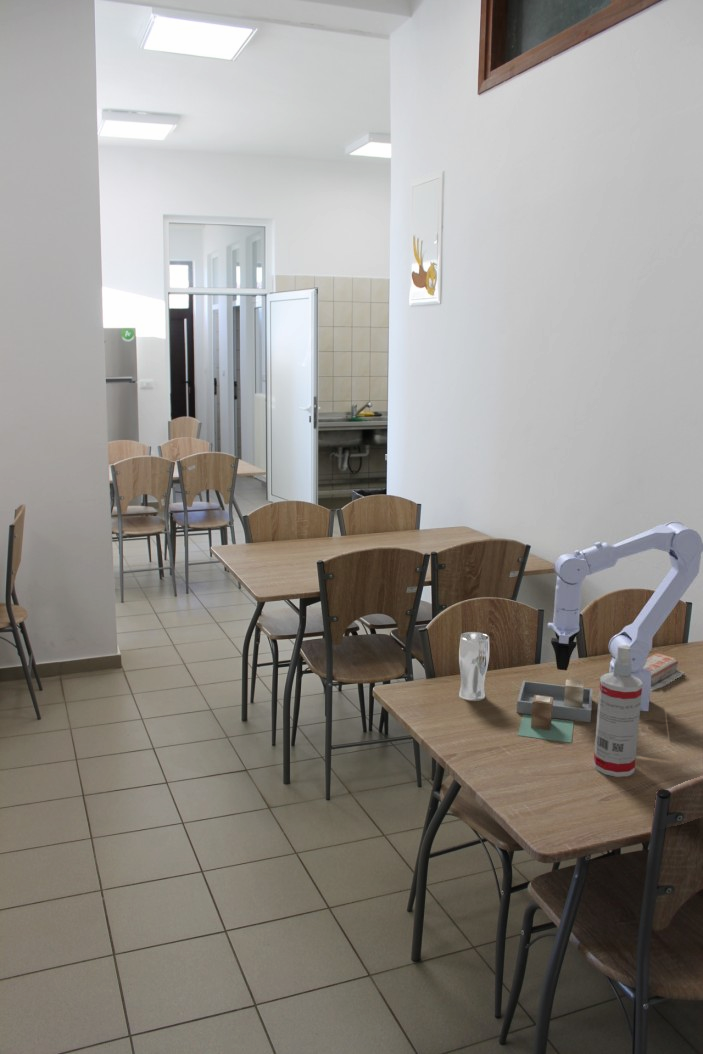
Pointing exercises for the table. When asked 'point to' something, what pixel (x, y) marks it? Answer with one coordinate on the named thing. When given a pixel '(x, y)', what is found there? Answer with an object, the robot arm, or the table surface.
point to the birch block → (574, 693)
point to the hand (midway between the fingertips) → (563, 663)
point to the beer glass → (473, 665)
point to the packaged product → (662, 670)
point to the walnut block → (542, 712)
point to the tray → (554, 701)
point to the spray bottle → (618, 718)
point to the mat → (557, 732)
